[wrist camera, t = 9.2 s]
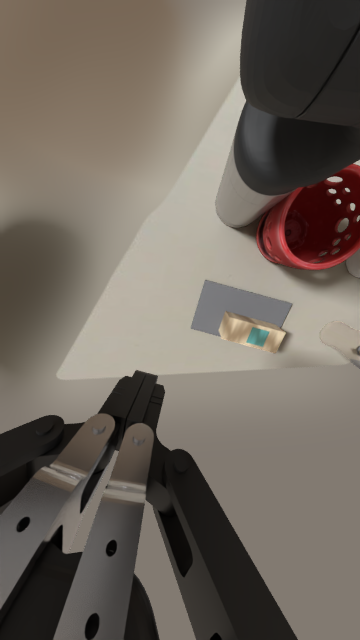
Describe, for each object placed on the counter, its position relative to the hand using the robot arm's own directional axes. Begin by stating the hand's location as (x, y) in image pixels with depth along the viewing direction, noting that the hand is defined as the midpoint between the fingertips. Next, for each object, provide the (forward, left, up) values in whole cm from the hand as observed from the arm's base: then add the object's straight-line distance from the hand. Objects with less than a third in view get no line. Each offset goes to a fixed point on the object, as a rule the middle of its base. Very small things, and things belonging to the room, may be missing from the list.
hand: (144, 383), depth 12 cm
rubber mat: (+1, +14, -31) cm, 34 cm away
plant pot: (-18, +17, -31) cm, 40 cm away
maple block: (+3, +11, -28) cm, 30 cm away
